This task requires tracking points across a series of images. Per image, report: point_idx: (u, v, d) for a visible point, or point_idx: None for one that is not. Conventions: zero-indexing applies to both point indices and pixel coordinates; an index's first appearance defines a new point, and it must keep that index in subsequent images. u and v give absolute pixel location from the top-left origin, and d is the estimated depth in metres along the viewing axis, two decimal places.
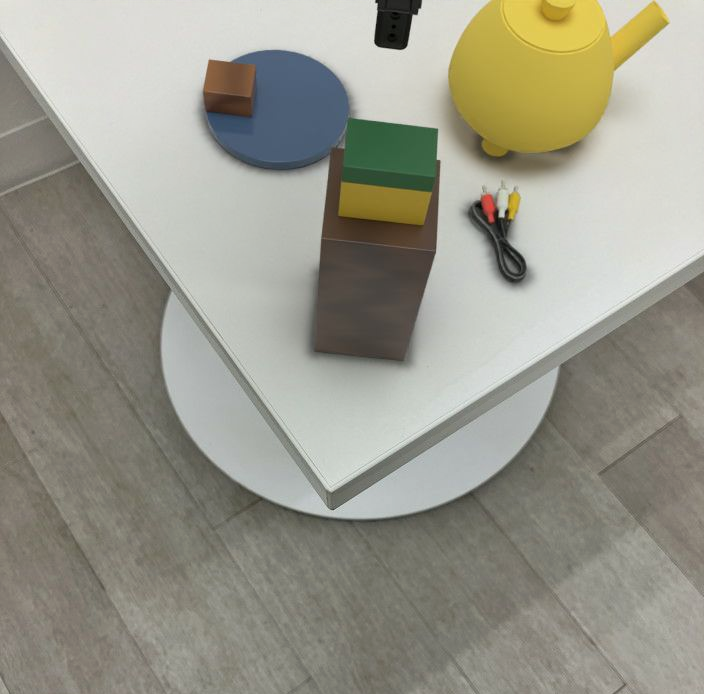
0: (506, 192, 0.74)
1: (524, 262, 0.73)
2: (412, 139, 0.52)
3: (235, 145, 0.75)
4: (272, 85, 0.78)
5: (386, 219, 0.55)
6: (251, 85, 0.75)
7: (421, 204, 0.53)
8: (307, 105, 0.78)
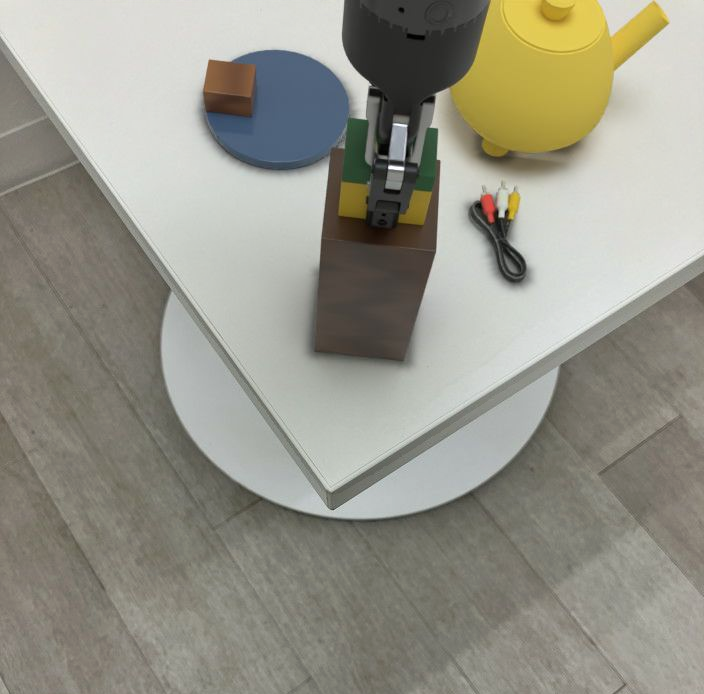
0: (506, 192, 0.74)
1: (524, 262, 0.73)
2: None
3: (235, 145, 0.75)
4: (272, 85, 0.78)
5: None
6: (251, 85, 0.75)
7: (421, 204, 0.53)
8: (307, 105, 0.78)
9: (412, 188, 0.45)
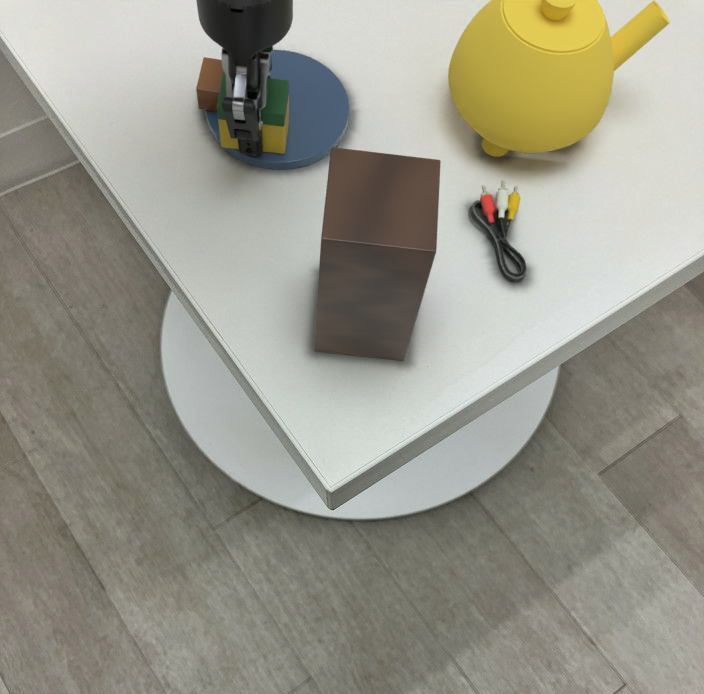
0: (506, 192, 0.74)
1: (524, 262, 0.73)
2: (268, 88, 0.71)
3: None
4: None
5: None
6: None
7: (279, 136, 0.73)
8: (307, 105, 0.78)
9: (252, 118, 0.65)
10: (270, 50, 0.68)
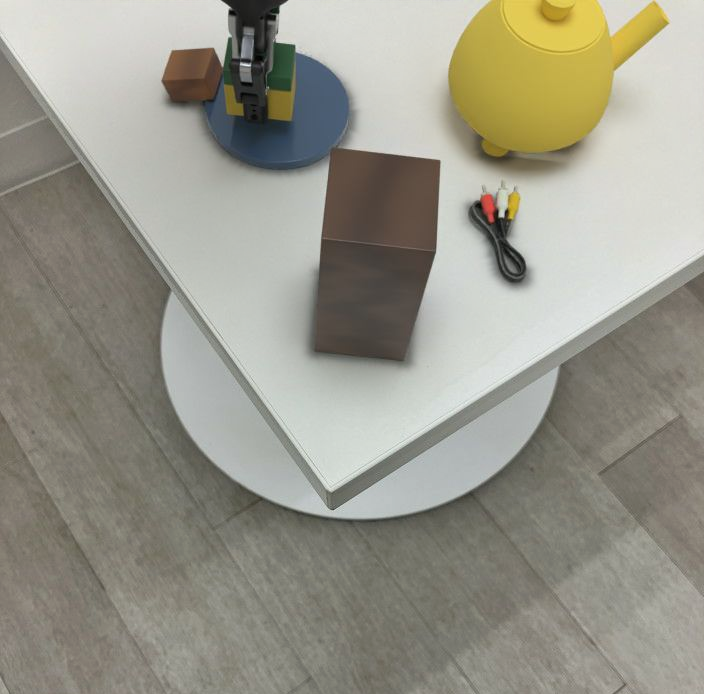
0: (506, 192, 0.74)
1: (524, 262, 0.73)
2: (275, 52, 0.70)
3: (235, 145, 0.75)
4: None
5: None
6: (206, 67, 0.75)
7: (285, 102, 0.72)
8: (307, 105, 0.78)
9: (259, 80, 0.64)
10: (277, 13, 0.67)
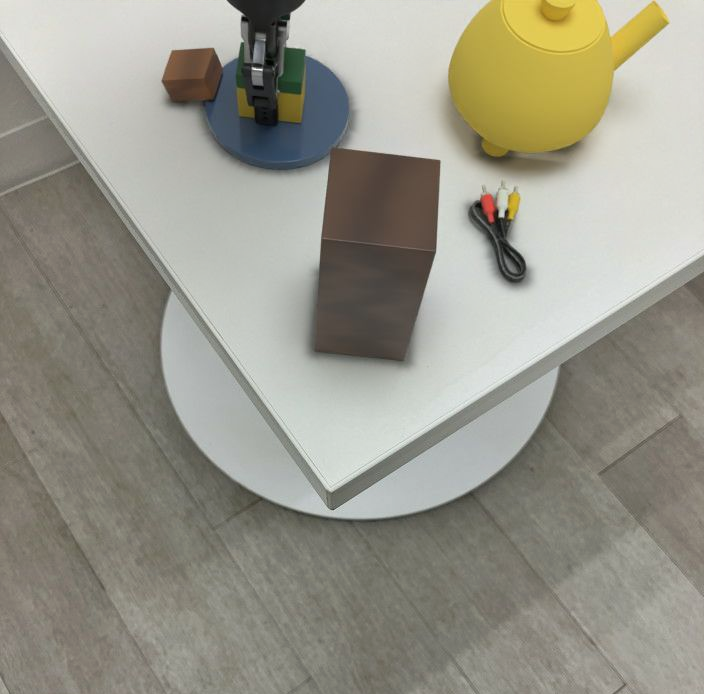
0: (506, 192, 0.74)
1: (524, 262, 0.73)
2: (286, 56, 0.73)
3: (235, 145, 0.75)
4: None
5: None
6: (206, 67, 0.75)
7: (295, 105, 0.74)
8: (307, 105, 0.78)
9: (271, 84, 0.67)
10: (287, 19, 0.69)
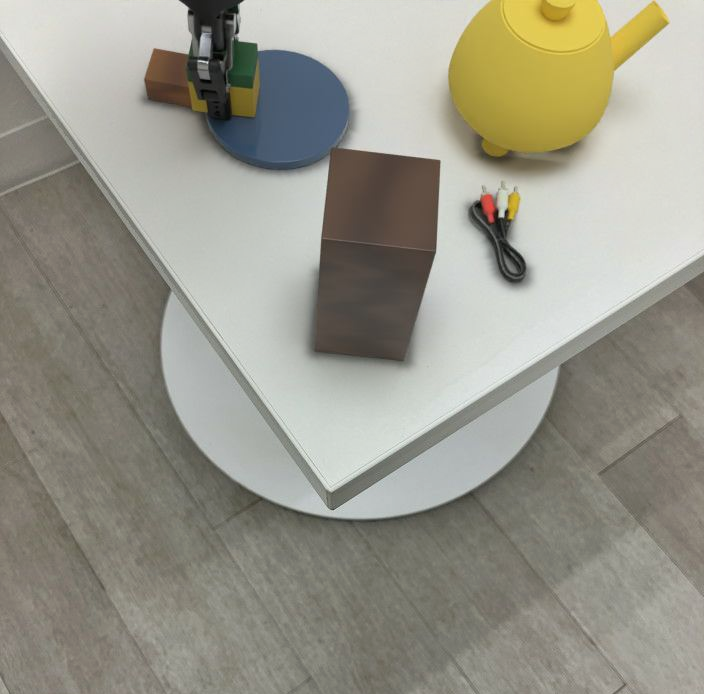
0: (506, 192, 0.74)
1: (524, 262, 0.73)
2: (237, 50, 0.73)
3: (235, 145, 0.75)
4: (272, 85, 0.78)
5: None
6: None
7: (248, 99, 0.74)
8: (307, 105, 0.78)
9: (217, 77, 0.67)
10: (236, 12, 0.69)
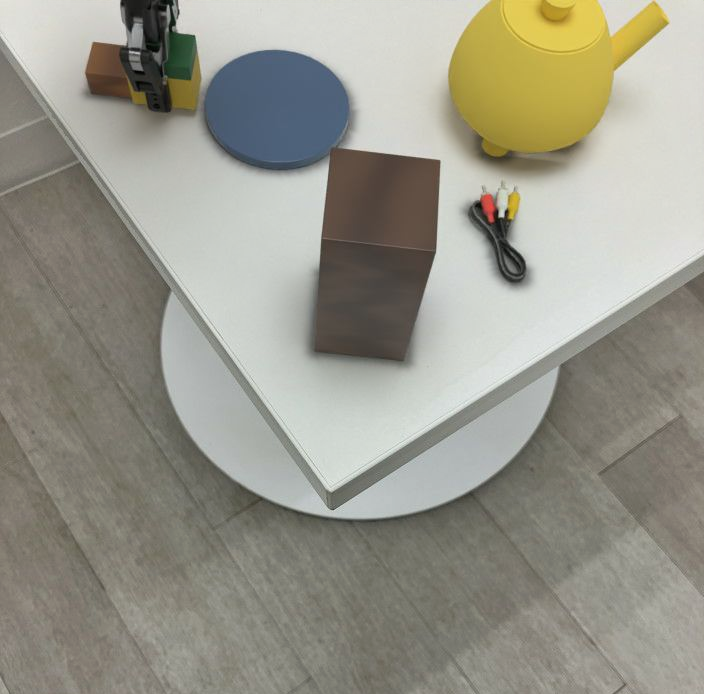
0: (506, 192, 0.74)
1: (524, 262, 0.73)
2: (175, 42, 0.72)
3: (235, 145, 0.75)
4: (272, 85, 0.78)
5: None
6: None
7: (187, 91, 0.74)
8: (307, 105, 0.78)
9: (150, 68, 0.66)
10: (171, 4, 0.69)
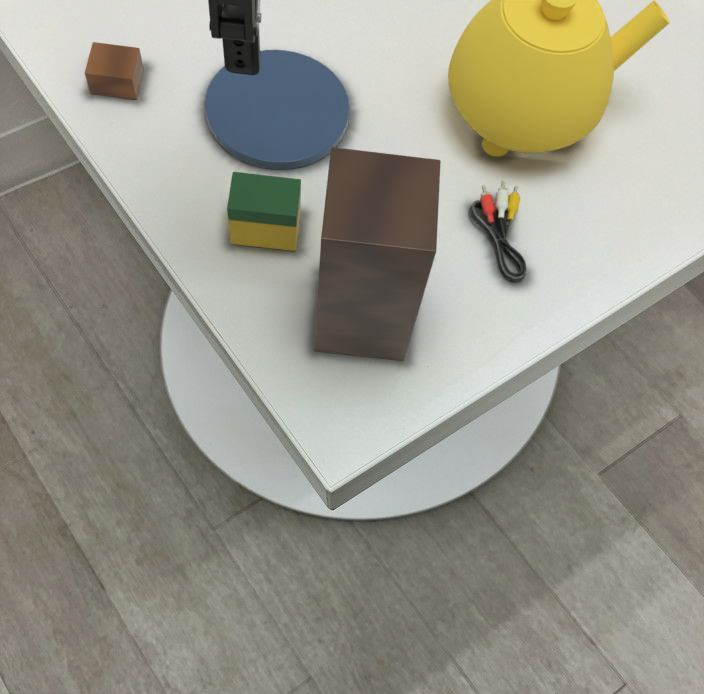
0: (506, 192, 0.74)
1: (524, 262, 0.73)
2: (280, 187, 0.69)
3: (235, 145, 0.75)
4: (272, 85, 0.78)
5: (267, 246, 0.72)
6: (133, 67, 0.76)
7: (290, 235, 0.71)
8: (307, 105, 0.78)
9: None
10: None
